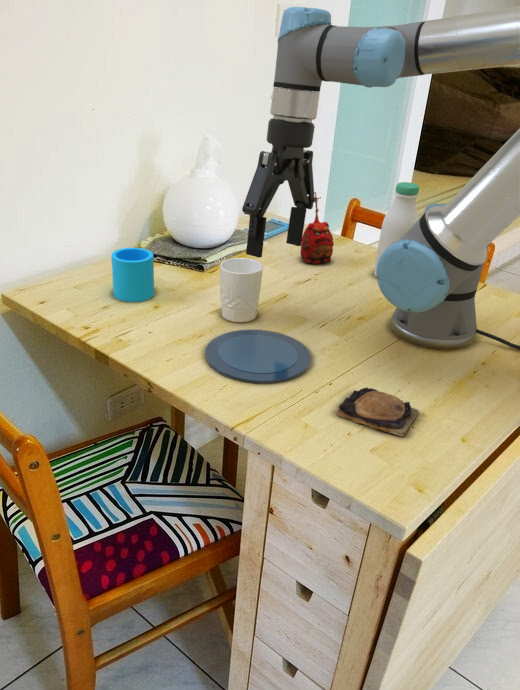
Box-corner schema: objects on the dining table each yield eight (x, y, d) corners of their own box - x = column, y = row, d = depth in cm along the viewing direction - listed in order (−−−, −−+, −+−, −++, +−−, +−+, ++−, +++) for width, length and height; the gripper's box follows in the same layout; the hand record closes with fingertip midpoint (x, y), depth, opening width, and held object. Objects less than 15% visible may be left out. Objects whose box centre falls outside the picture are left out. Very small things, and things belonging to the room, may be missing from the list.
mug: (158, 299, 129) (158, 260, 125) (118, 304, 127) (116, 264, 122) (143, 277, 138) (142, 239, 134) (105, 281, 136) (103, 243, 132)
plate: (325, 348, 114) (325, 344, 114) (285, 395, 101) (286, 391, 100) (234, 324, 121) (234, 320, 121) (185, 365, 107) (185, 361, 107)
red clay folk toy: (308, 267, 147) (316, 200, 139) (293, 257, 152) (299, 192, 144) (336, 263, 149) (346, 197, 141) (320, 253, 155) (328, 189, 147)
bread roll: (420, 413, 98) (425, 393, 96) (402, 440, 92) (407, 419, 90) (354, 391, 102) (357, 371, 100) (332, 415, 96) (336, 394, 94)
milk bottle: (401, 285, 140) (420, 191, 129) (368, 277, 143) (383, 185, 132) (413, 274, 145) (432, 183, 134) (380, 267, 148) (396, 177, 138)
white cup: (215, 322, 121) (217, 271, 116) (220, 304, 128) (222, 256, 123) (257, 325, 121) (261, 275, 115) (260, 308, 127) (264, 259, 122)
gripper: (308, 117, 116) (291, 236, 125) (229, 115, 97) (216, 255, 107) (346, 122, 112) (325, 244, 122) (271, 122, 93) (254, 266, 103)
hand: (274, 249), depth 114 cm, fingers open, 13 cm apart
